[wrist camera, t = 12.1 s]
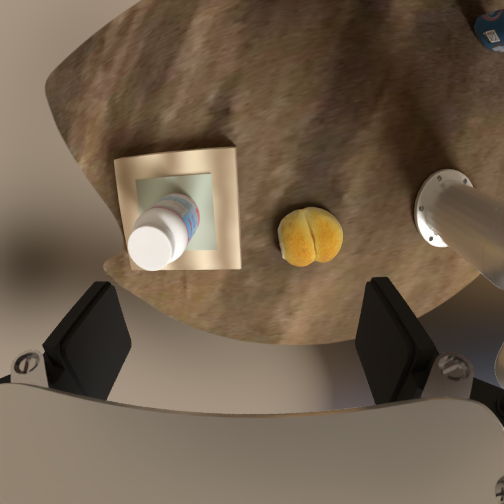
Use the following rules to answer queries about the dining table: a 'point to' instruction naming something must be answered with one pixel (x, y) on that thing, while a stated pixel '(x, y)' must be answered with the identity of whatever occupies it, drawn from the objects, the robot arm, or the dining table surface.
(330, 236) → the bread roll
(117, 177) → the birch plinth
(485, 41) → the soda can
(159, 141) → the dining table surface
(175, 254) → the pill bottle
